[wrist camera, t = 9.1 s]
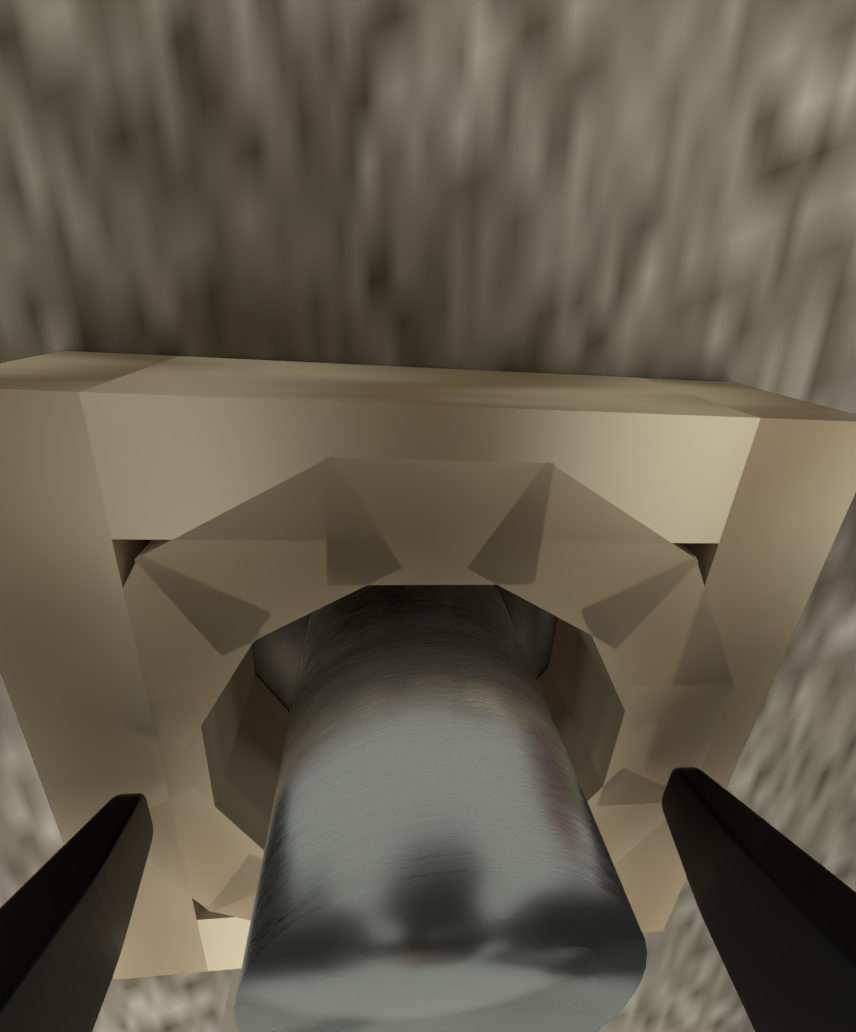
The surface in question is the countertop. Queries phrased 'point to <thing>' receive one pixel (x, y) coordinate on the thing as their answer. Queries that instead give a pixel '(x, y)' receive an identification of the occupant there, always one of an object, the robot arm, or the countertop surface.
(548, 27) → the countertop surface
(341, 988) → the cylinder
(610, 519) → the socket block
